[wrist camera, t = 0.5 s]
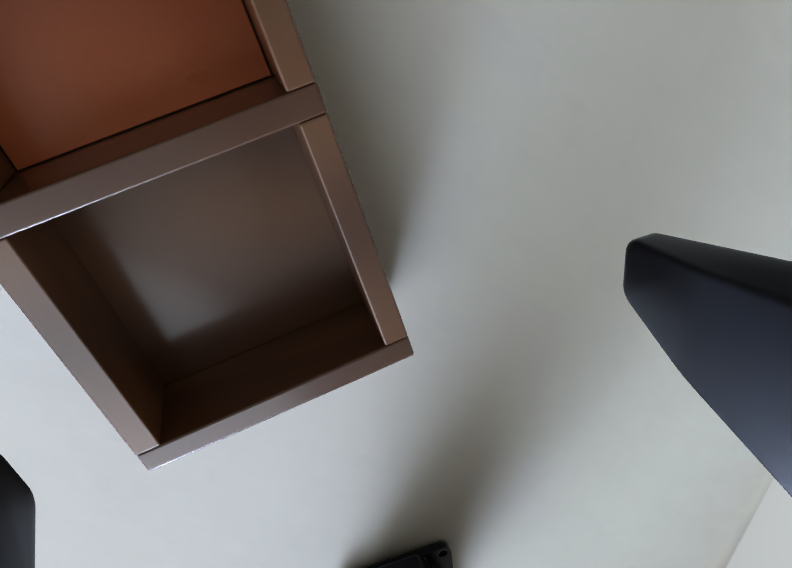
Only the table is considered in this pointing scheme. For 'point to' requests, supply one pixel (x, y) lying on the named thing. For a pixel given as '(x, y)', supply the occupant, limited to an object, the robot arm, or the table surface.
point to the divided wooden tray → (183, 216)
